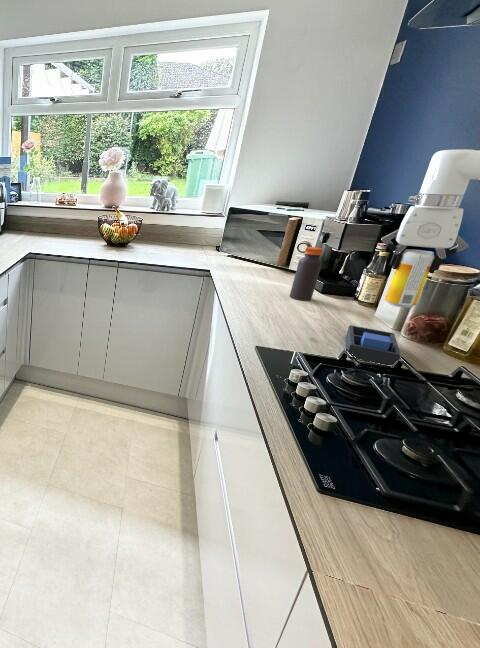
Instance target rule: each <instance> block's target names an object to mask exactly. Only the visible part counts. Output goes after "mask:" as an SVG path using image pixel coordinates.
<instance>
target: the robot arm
mask: <svg viewBox="0 0 480 648" xmlns="http://www.w3.org/2000/svg"><path fill="white" fill-rule="evenodd" d="M470 180H472V181H473V180H475V181H480V150H476V149H467V148H465V149H444V150H443V149H442V150H439V151H436V152H435V153H434V154H433V155H432V157H431V160H430V161H429V165H428V167H427V170H426V173H425V175H424V179H423V181H422V185H421V187H420V190H419V193H418V194H416V195H409V197H408V200H407V201H408V202H412V203H414V205H411V206H410V207H409V208H408V210H407V212H406V213H405V215H404V217H403V219H402V221H401V223H400V226H399V228H398V229H396V230H394V231H393V232H391V233H389V234H387V235H385V236H383V237H381V238H380V239H381V242H382V243H383V244H384V245H385V246H386V247H387V248H388V249H389V250H390V251H391V252H392V253H393V254H392V256H391V260H390V263H389V266H391V268H392V270H396V269H397V268H398V265H399V262H400V259H401V257H402V255H401V254H402V253H403V252H404V251H405V250H406V248H407V247H409V246H410V247H421V248H431V249H435V253H436V254H435V255H434V257H435V258H434V261H433V263H432V266H431V268H430V271H429V274H434V273H435V271H439V269H440V268H441V265H442V262H443V260H444V259H446V258H448V257H449V256H452V255H454V254H456V253H458V252H460V251H463V250H465V249H467V248H469V244H468V243H467V242H466V241H465V240H464V239H463V238H462V237H461V236H460V235H459V231H460V227H461V224H462V222H463V221H462V220H463V216H464V208H461V203H462V201H463V199H464V195H465V193H466V191H467V188H468V186H469V184H470ZM394 238H395V241H396V242H397V245H395V244H394V243H393V242H392V239H394ZM455 244H456V245H455ZM454 245H455V246H454ZM453 246H454V247H453ZM445 249H446V250H445Z"/></svg>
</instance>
